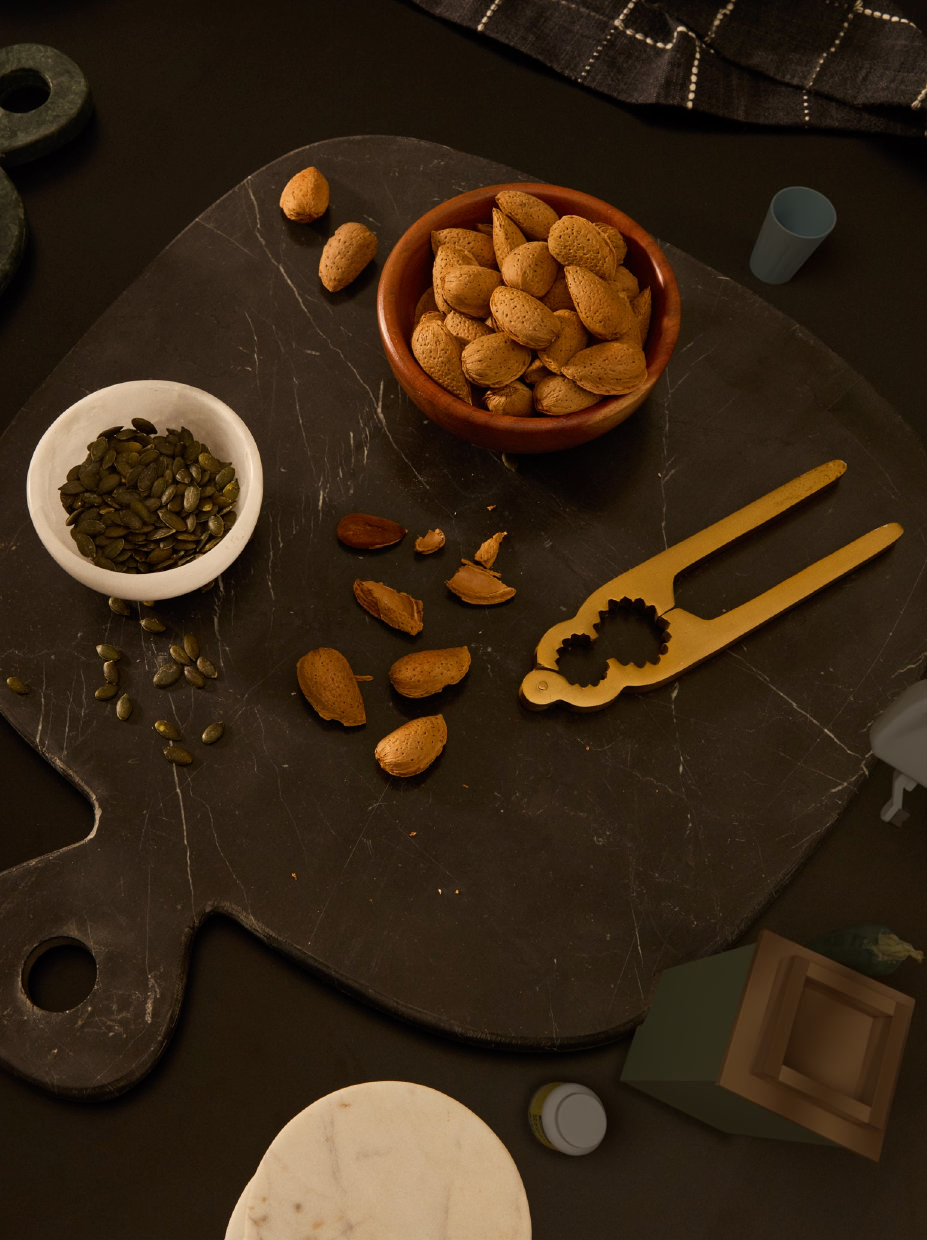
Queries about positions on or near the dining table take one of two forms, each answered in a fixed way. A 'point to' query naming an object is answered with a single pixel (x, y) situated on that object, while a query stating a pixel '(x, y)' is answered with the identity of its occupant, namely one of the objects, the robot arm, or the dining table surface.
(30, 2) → the dining table surface
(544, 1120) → the supplement bottle
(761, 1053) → the socket pad
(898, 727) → the robot arm
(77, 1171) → the dining table surface
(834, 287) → the dining table surface
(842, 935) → the vegetable
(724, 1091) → the stand
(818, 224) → the cup
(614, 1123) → the dining table surface
